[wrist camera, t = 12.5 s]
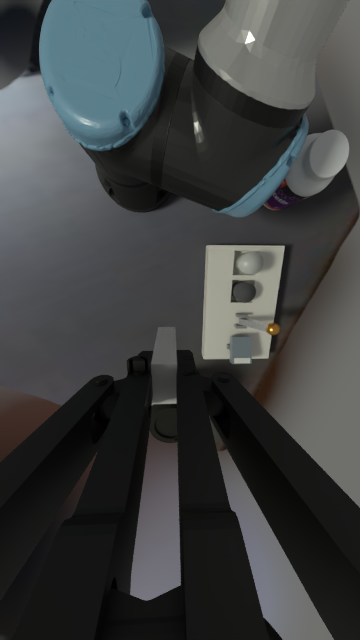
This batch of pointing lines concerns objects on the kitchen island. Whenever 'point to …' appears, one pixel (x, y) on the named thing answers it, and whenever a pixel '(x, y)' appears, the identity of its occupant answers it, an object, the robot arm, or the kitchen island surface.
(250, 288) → the button black
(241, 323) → the lever
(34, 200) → the kitchen island surface
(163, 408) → the coffee cup
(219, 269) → the panel
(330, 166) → the pill bottle
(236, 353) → the slate blue block
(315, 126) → the kitchen island surface
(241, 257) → the button grey
